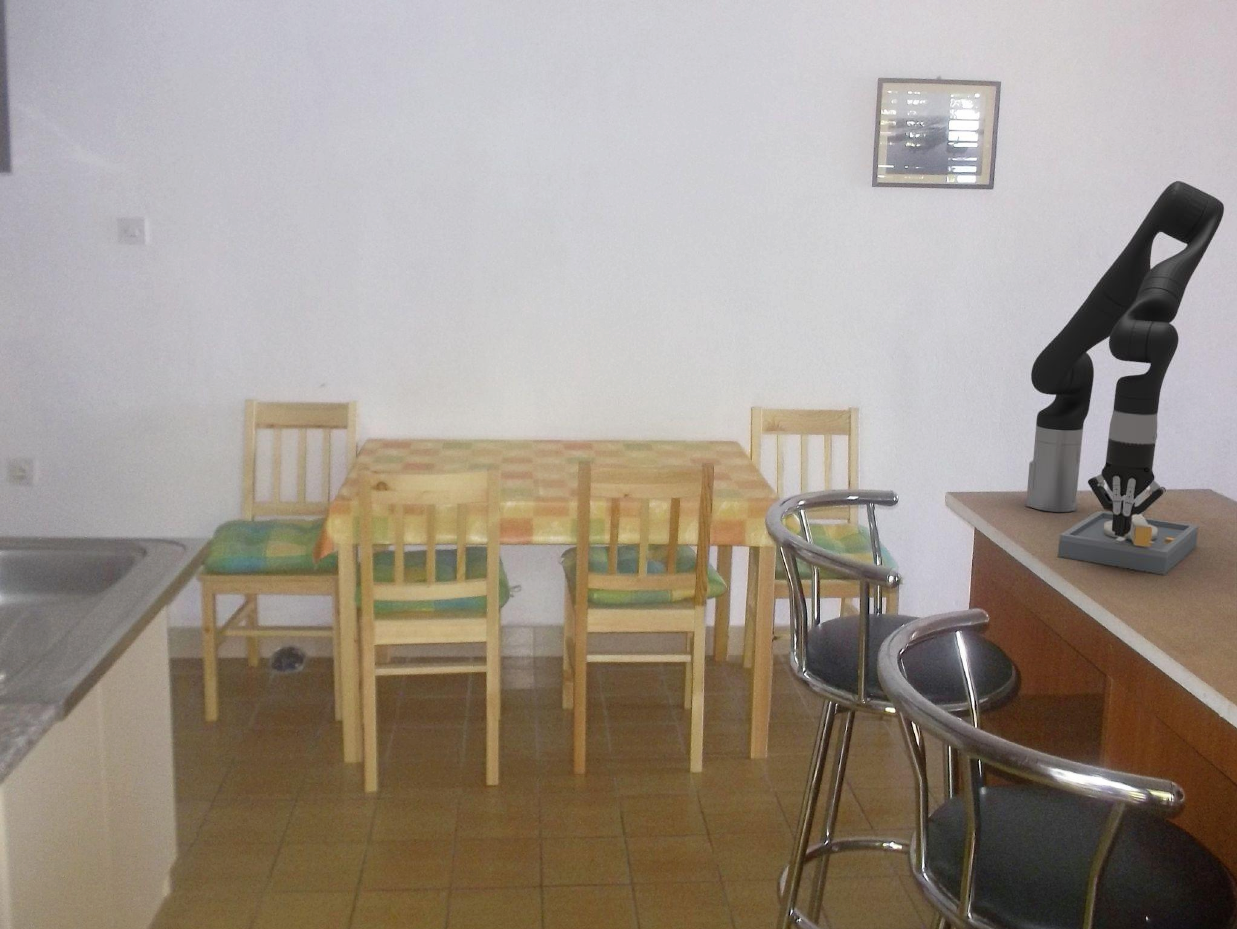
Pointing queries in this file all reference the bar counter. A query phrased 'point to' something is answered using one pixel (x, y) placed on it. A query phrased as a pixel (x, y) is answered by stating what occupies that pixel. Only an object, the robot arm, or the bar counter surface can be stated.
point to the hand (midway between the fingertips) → (1120, 535)
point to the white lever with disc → (1136, 531)
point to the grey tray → (1128, 545)
